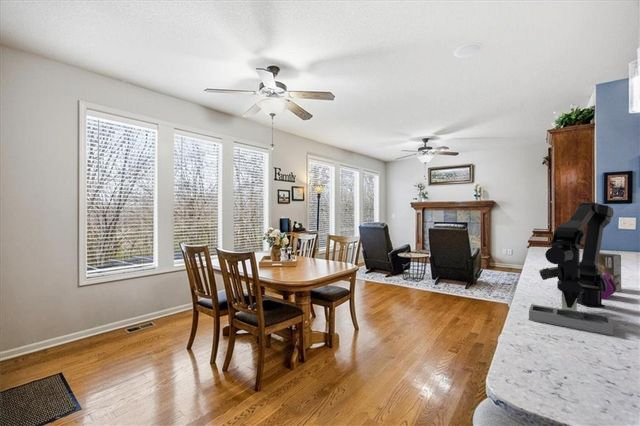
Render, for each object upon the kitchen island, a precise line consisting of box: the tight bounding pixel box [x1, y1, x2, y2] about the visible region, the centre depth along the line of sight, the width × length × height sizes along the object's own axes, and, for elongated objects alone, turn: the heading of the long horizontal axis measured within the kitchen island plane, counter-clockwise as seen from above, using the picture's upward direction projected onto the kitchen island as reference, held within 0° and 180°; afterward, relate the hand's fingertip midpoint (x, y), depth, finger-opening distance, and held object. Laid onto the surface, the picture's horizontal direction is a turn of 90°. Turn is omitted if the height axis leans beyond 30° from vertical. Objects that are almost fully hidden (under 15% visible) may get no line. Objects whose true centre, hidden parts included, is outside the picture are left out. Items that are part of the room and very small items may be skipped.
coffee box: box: [598, 252, 622, 293], centre depth 134 cm, size 9×6×16 cm
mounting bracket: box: [598, 273, 617, 300], centre depth 127 cm, size 10×8×18 cm
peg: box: [561, 291, 578, 312], centre depth 105 cm, size 4×4×8 cm
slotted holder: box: [528, 303, 614, 337], centre depth 95 cm, size 20×9×3 cm, turn 50°
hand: (569, 305), depth 105 cm, fingers open, 7 cm apart
